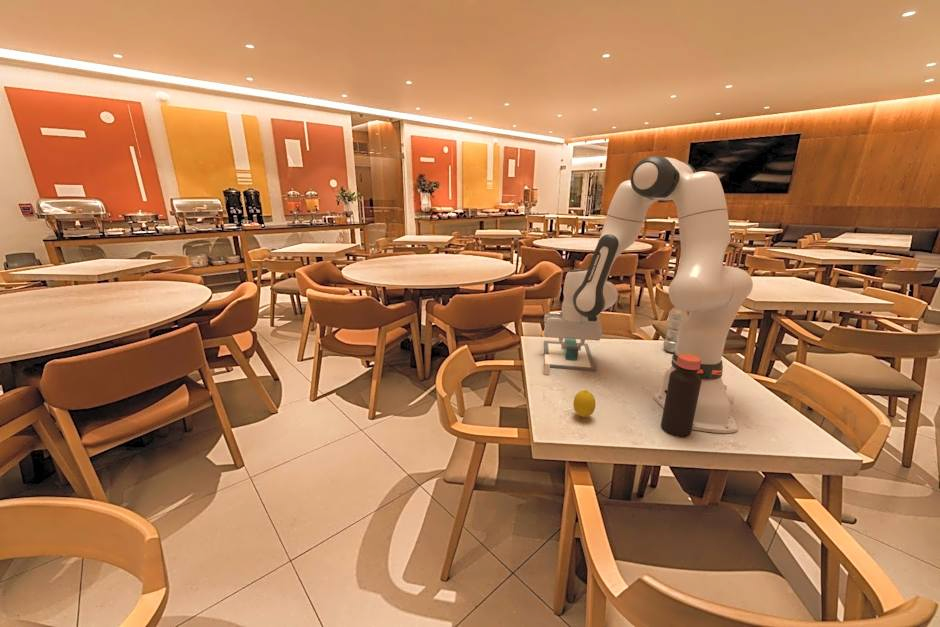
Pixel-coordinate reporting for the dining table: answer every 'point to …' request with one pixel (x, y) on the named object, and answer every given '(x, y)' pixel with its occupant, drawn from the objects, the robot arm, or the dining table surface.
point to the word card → (546, 364)
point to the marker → (571, 349)
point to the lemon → (584, 403)
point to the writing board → (559, 359)
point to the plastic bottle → (674, 328)
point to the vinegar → (682, 396)
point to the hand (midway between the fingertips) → (570, 349)
